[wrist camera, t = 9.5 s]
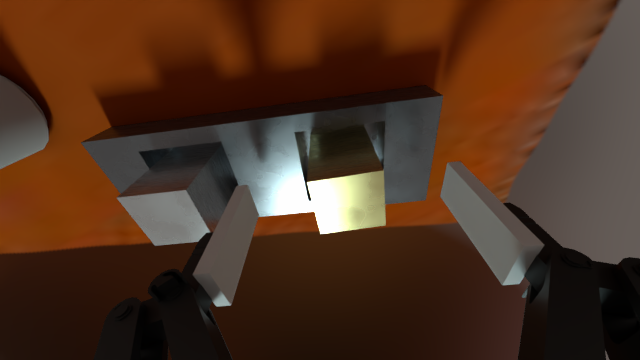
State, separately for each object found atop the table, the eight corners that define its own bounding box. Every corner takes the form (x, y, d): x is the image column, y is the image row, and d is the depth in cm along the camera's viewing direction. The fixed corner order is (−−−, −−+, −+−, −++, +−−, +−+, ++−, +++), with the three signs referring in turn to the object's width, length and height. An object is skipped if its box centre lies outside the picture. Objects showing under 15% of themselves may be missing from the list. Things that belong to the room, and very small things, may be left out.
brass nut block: (320, 178, 22) (320, 233, 16) (310, 134, 19) (307, 182, 14) (367, 170, 21) (385, 225, 16) (363, 125, 19) (383, 170, 13)
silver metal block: (196, 188, 23) (155, 245, 17) (174, 147, 20) (116, 197, 14) (241, 183, 22) (214, 240, 16) (224, 140, 20) (185, 190, 14)
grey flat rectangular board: (164, 207, 25) (147, 228, 22) (111, 127, 19) (80, 142, 17) (413, 180, 23) (425, 200, 20) (425, 85, 18) (443, 95, 15)
